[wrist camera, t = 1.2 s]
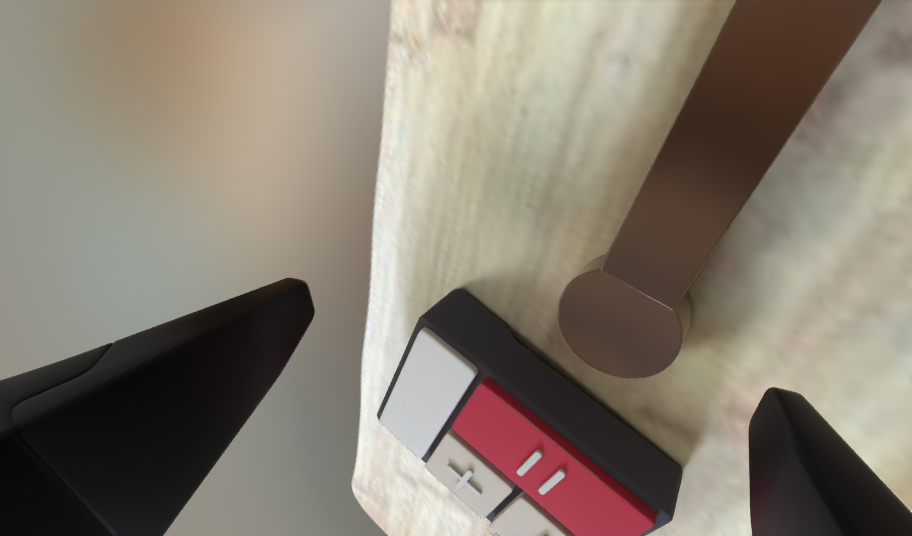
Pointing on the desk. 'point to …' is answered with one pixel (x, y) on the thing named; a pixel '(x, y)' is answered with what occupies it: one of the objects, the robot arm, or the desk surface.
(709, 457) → the desk surface
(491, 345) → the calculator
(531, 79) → the desk surface
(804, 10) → the spoon
